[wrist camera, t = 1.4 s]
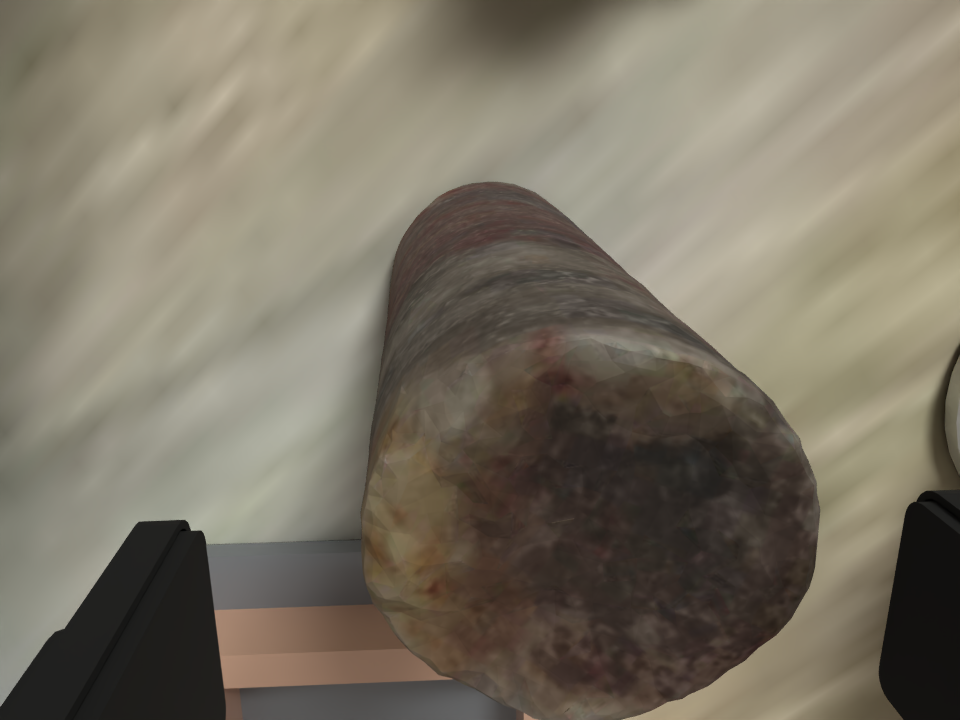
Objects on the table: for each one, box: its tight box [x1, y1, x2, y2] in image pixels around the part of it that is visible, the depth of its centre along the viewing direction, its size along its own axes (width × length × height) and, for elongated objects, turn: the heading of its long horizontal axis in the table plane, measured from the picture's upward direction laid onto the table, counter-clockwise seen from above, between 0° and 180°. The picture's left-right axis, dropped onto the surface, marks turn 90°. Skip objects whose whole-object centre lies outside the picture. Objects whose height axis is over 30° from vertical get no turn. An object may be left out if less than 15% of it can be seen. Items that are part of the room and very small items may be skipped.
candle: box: [361, 182, 820, 720], centre depth 21 cm, size 8×7×20 cm
